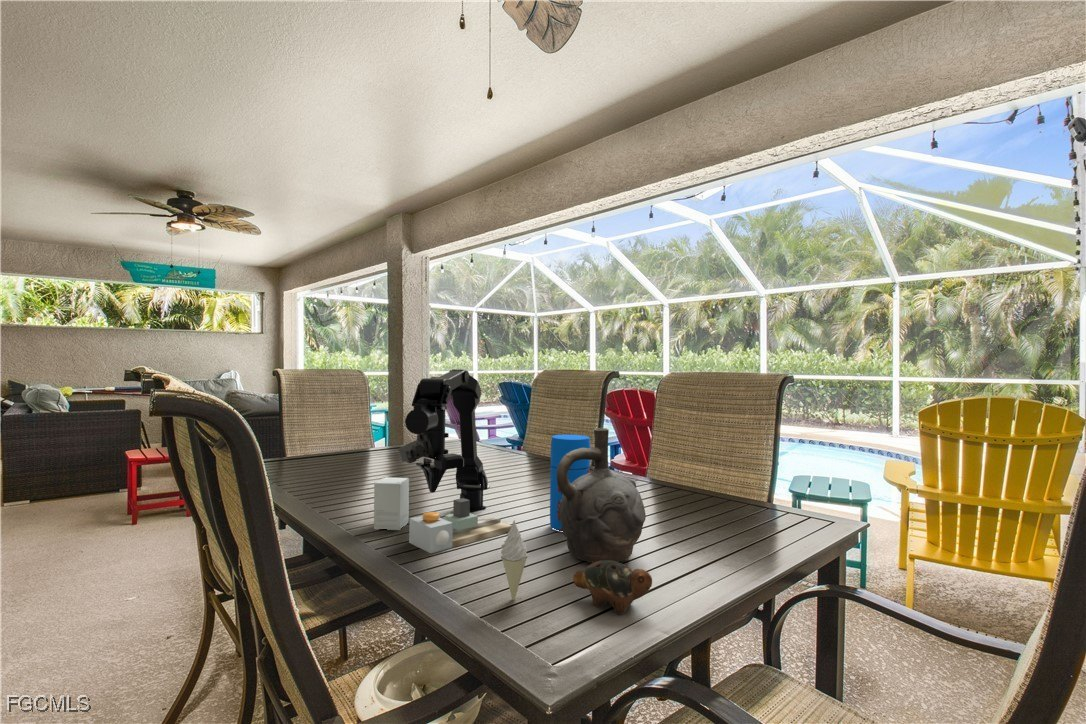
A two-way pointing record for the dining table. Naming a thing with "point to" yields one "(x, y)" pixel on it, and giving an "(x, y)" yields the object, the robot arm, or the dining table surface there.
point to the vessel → (599, 507)
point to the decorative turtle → (613, 583)
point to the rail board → (480, 531)
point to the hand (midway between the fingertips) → (432, 492)
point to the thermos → (576, 470)
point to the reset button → (430, 517)
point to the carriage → (462, 515)
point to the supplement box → (391, 503)
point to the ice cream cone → (514, 558)
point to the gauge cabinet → (430, 534)
